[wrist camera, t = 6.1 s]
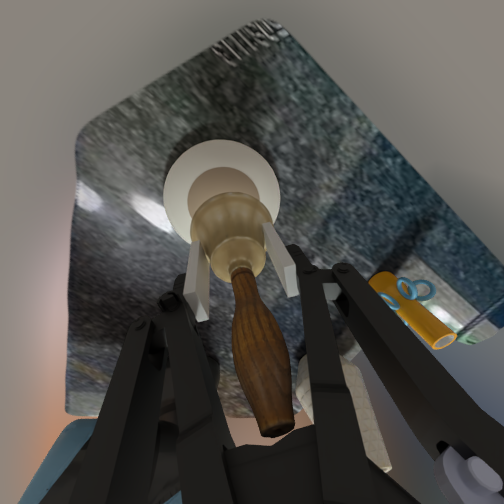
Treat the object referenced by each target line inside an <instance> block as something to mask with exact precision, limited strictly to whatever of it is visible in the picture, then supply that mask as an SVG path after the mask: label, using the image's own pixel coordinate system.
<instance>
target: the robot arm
mask: <svg viewBox="0 0 504 504" xmlns="http://www.w3.org/2000/svg"><path fill="white" fill-rule="evenodd" d="M262 228H263V233H264V238H265V243H266V249H267V251H268V253H269V256H270V258H271V260H272V262H273V265H274V267H275V269H276V271H277V274H278V276H279V278H280V281H281V283H282V285H283V287H284V290H285V292H286V294H287V296H288V298H289V297H292V296H296V295H298V291H299V292H300V297H301V306H302V315H303V325H304V334H305V344H306V353H307V362H308V372H309V381H310V390H311V400H312V409H313V419H314V424H313V425H310V426H306V427H303V428H299V429H296V430H293V431H292V432H291V433H289V434H288V435H286V436H285V437H284V438H282V439H281V440H279V441H278V442H277V443H275V444H274V445H272V446H262V445H248V444H246V445H242V446H239V447H236V446H235V443H234V441H233V439H232V437H231V434H230V431H229V428H228V425H227V422H226V418H225V415H224V412H223V409H222V405H221V402H220V399H219V396H218V392H217V387H218V383H219V379H220V368H219V365H218V363H217V362H216V361H215V360H214V359H212V358H210V357H208V356H206V354H205V350H204V347H203V344H202V341H201V337H200V334H199V331H198V328H197V326H196V324H195V318H196V319H197V321H198V322H201V321H205V320H209V262H208V259H207V257H206V254H205V252H204V249H203V247H202V244H201V242H200V240H198V241H194V242H191V248H190V254H189V260H188V266H187V273H184V274H180V275H178V276H177V278H176V279H175V282H174V287H173V291H169V292H166V293H164V294H163V295H162V296H161V297H160V298H159V299H158V301H157V304H158V306H159V307H160V309H161V310H162V312H163V313H162V314H160V315H158V316H156V317H154V318H153V319H150V317H148V316H143V317H140V318H138V319H137V320H135V321H134V322H133V323H132V324H131V326H130V327H129V330H128V332H127V335H126V338H125V341H124V344H123V347H122V350H121V353H120V356H119V358H118V361H117V364H116V367H115V370H114V373H113V376H112V379H111V382H110V384H109V387H108V390H107V393H106V396H105V399H104V402H103V405H102V408H101V410H100V413H99V416H98V419H78V420H75V421H73V422H71V423H70V424H69V425H67V426H66V427H65V429H64V430H63V431H62V433H61V434H60V435H59V437H58V438H57V440H56V441H55V443H54V445H53V446H52V448H51V449H50V451H49V452H48V454H47V456H46V457H45V459H44V461H43V462H42V464H41V466H40V467H39V469H38V471H37V472H36V474H35V475H34V477H33V479H32V480H31V482H30V484H29V485H28V487H27V489H26V491H25V492H24V494H23V496H22V497H21V499H20V501H19V502H18V504H421V503H420V502H418V501H417V500H416V499H415V498H414V497H412V495H410V494H409V493H408V492H407V491H406V490H405V489H403V488H402V487H401V486H400V485H399V484H398V483H397V482H396V481H394V480H393V479H392V478H391V477H390V476H389V475H388V474H386V473H385V472H384V471H383V470H382V469H381V468H380V467H378V466H377V465H376V464H375V463H374V462H373V461H371V460H370V459H369V458H368V457H367V456H366V452H365V448H364V444H363V440H362V436H361V432H360V428H359V424H358V420H357V415H356V411H355V407H354V403H353V399H352V396H351V393H350V390H349V388H348V387H347V385H346V381H345V377H344V373H343V369H342V364H341V360H340V356H339V352H338V348H337V343H336V339H335V335H334V331H333V327H332V322H331V318H330V314H329V310H328V305H327V301H326V300H332V301H333V303H334V304H335V306H336V307H337V309H338V311H339V312H340V314H341V316H342V317H343V319H344V321H345V322H346V324H347V325H348V327H349V329H350V330H351V332H352V334H353V335H354V337H355V339H356V340H357V342H358V343H359V345H360V347H361V348H362V350H363V352H364V353H365V355H366V356H367V358H368V360H369V361H370V363H371V365H372V366H373V368H374V370H375V371H376V373H377V375H378V376H379V378H380V379H381V381H382V383H383V384H384V386H385V388H386V389H387V391H388V393H389V394H390V396H391V397H392V399H393V401H394V402H395V404H396V406H397V407H398V409H399V411H400V412H401V414H402V415H403V417H404V419H405V420H406V422H407V424H408V425H409V427H410V428H411V430H412V431H413V433H414V434H415V436H416V437H417V439H418V440H419V442H420V443H421V444H422V446H423V447H424V448H425V450H426V451H427V452H428V454H429V455H430V456H431V457H432V459H433V460H434V461H435V463H434V469H433V470H434V475H435V479H436V482H437V484H438V486H439V488H440V489H441V491H442V493H443V494H444V496H445V497H446V499H447V500H448V502H449V504H504V427H503V426H502V425H501V424H500V423H498V422H497V421H496V420H495V419H493V418H492V417H490V416H489V415H488V414H487V413H486V412H484V411H483V410H482V409H481V408H480V407H479V406H478V405H477V404H476V403H475V402H474V401H473V399H472V398H471V397H470V396H469V395H468V394H467V393H466V392H465V391H464V389H463V388H462V387H461V386H460V385H459V384H458V383H457V382H456V381H455V379H454V378H453V377H452V376H451V375H450V374H449V373H448V372H447V370H446V369H445V368H444V367H443V366H442V365H441V364H440V363H439V362H438V360H436V358H435V357H434V356H433V355H432V354H431V353H430V351H429V350H428V349H427V348H426V347H425V346H424V345H423V344H422V343H421V341H419V339H418V338H417V337H416V336H415V335H414V334H413V332H412V331H411V330H410V329H409V328H408V327H407V326H406V325H405V324H404V322H403V321H402V320H401V319H400V318H399V317H398V316H397V315H396V314H395V312H394V311H393V310H392V309H391V308H390V307H389V306H388V305H387V303H386V302H385V301H384V300H383V299H382V298H381V297H380V296H379V295H378V293H377V292H376V291H375V290H374V289H373V288H372V287H371V286H370V284H369V283H368V282H367V281H366V280H365V279H364V278H363V277H362V276H361V274H360V273H359V272H358V271H357V270H356V269H355V268H354V267H353V266H352V265H351V264H348V263H343V262H342V263H337V264H335V265H334V266H333V267H332V269H318V267H316V266H315V265H312V264H311V263H310V262H309V260H308V259H307V257H306V256H305V254H304V253H303V252H302V250H301V249H300V247H299V246H297V245H295V244H292V245H288V246H284V244H283V243H282V241H281V239H280V238H279V236H278V234H277V233H276V231H275V229H274V228H273V226H272V224H271V223H270V222H267V223H263V224H262ZM168 353H169V359H168V360H167V356H168Z"/></svg>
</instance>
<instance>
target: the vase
mask: <svg viewBox="0 0 504 504" xmlns="http://www.w3.org/2000/svg"><path fill="white" fill-rule="evenodd" d="M339 356H340V360H341V364H342V369H343V373H344V377H345V381H346V385H347V387H348V388H349V390H350V393H351V396H352V399H353V403H354V407H355V411H356V415H357V420H358V424H359V428H360V432H361V436H362V440H363V444H364V448H365V452H366V456H367V457H368V458H369V459H370V460H371V461H373V462H374V463H375V464H376V465H377V466H378V467H380V468H381V469H382V470H383V471H384V472H385V473H386V472H388V471H389V470H391V469H392V466H391V463H390V461H389V457H388V454H387V451H386V448H385V445H384V442H383V439H382V436H381V433H380V430H379V427H378V424H377V421H376V418H375V415H374V412H373V408H372V405H371V402H370V399H369V397H368V393H367V390H366V387H365V384H364V381H363V378H362V375H361V372H360V370H359V369H358V367H356V366H355V365H354V364H352V363H351V362H349V361H348V360H347V359H345V358H344V357H342V356H341V355H339ZM296 396H297V398H298V400H299V401H300V403H301V405H302V406H303V408H304V410H305V411H306V413H307V414H308V416H309V418H310V420H311V421H312V423H313V424H314V419H313V409H312V400H311V390H310V381H309V372H308V362H307V354H306V355H305V356H303V357H302V359H301V360H300V362H299V366H298V374H297V383H296Z"/></svg>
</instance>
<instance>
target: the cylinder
mask: <svg viewBox="0 0 504 504" xmlns="http://www.w3.org/2000/svg"><path fill="white" fill-rule="evenodd" d="M403 281H404V282H406V283H407V284H408V285H409V286H408V288H407V286H406V285H405V284H404V283H403ZM368 283H369V284H370V286H371V287H372V288H373V289H374V290H375V291H376V292H377V293H378V295H379V296H380V297H381V298H382V299H383V300H384V301H385V302H386V303H387V305H388V306H389V307H390V308H391V309H392V310H393V311H394V312H395V314H396V315H397V313H398V314H399V315H400V316H401V317H402V318H403V320H404V324H405V325H406V326H407V325H408V324H409V325H410V326H411V327H412V328H413V329H414V330H415V331H416V332H417V333H418V334H419V335H420V336H421V337H422V338H423V339H424V340H425V341H426V342H427V343H428V344H429V345H430V346H431V347H432V348H433V349H441V348H443V347H445V346H447V345H449V344H451V343H452V342H453V341H454V340H455V339H456V337H457V334H455V333H454V332H453V331H452V330H451V329H450V328H448V327H447V326H446V325H445V324H444V323H442V322H441V321H440V320H439V319H438V318H437V317H435V316H434V315H433V314H432V313H431V312H429V311H428V310H427V309H426V308H425V307H424V306H423V305H422V304H421V303H419V302H418V301H417V300H419V301H426V300H429V299H431V298H433V297H434V295H435V294H436V288H435V286H434V285H433V284H432V283H431V282H429V281H427V280H416V281H413V282H412V281H411V280H409V279H408V278H405V277H401V278H399V279H398V278H397V277H396V276H395V275H393V274H392V273H391V272H388V271H383V272H380V273H377V274H376V275H374V276H373V277H372V278H371V279H370V280H369V282H368ZM417 284H426V285H428V286H429V287H430V293H429V294H428V295H426V296H423V297H420V296H417V295H418V292H417V288H416V286H415V285H417Z"/></svg>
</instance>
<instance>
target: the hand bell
mask: <svg viewBox="0 0 504 504" xmlns="http://www.w3.org/2000/svg"><path fill="white" fill-rule="evenodd" d="M267 222H270V223H271V224H272V226H273V220H272V217H271V214H270V212H269V211H268V209H267V208H266V206H265V205H264V204H263V203H262V202H260V201H259V200H258V199H256V198H254V197H253V196H251V195H248V194H245V193H241V192H226V193H221V194H218V195H215V196H213V197H211V198H209V199H208V200H206V201H205V202H204V203H203V204H202V205H201V206H200V207H199V208H198V209H197V211H196V212H195V214H194V216H193V218H192V221H191V226H190V236H191V241H192V242H194V241H198V240H200V242H201V244H202V247H203V249H204V252H205V254H206V257H207V259H208V262H209V263H210V264H211V267H212V270H213V271H214V273H215V274H216V275H217V276H218V277H219V278H220V279H222V280H224V281H226V282H229V283H232V287H233V291H234V296H235V302H236V307H235V313H234V317H233V323H232V352H233V360H234V365H235V370H236V373H237V376H238V379H239V382H240V384H241V387H242V390H243V392H244V394H245V396H246V398H247V400H248V402H249V404H250V406H251V408H252V410H253V413H254V416H255V418H256V421H257V423H258V427H259V430H260V433H261V436H262V437H270V438H275V437H279V436H282V435H284V434H287V433H288V432H290V431H291V430H293V429H294V426H295V420H294V414H293V405H292V379H291V366H290V358H289V353H288V349H287V346H286V343H285V340H284V338H283V335H282V332H281V330H280V328H279V326H278V324H277V322H276V320H275V318H274V316H273V315H272V313H271V312H270V310H269V309H268V308H267V307H266V306H265V304H264V303H263V301H262V300H261V298H260V296H259V293H258V289H257V285H256V281H255V277H256V276H257V275H258V274H259V273H260V272H261V271H262V269H263V267H264V265H265V260H266V254H265V252H266V250H267V249H266V243H265V238H264V233H263V228H262V224H263V223H267ZM273 228H274V226H273Z"/></svg>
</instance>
